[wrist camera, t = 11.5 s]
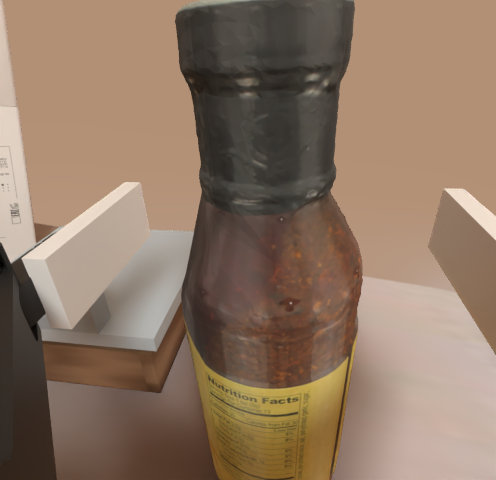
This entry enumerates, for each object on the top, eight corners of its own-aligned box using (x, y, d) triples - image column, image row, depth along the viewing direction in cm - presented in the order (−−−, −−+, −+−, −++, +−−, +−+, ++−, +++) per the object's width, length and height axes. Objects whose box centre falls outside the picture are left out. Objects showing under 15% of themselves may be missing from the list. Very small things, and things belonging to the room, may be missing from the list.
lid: (-61, 330, 22) (-96, 277, 20) (63, 235, 33) (49, 194, 31) (156, 351, 20) (143, 294, 18) (210, 241, 31) (206, 199, 29)
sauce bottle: (261, 388, 22) (254, 19, 12) (354, 450, 18) (452, -3, 8) (184, 476, 17) (74, 6, 7) (287, 581, 14) (328, -50, 4)
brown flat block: (-30, 371, 23) (-54, 334, 22) (78, 267, 35) (68, 238, 33) (160, 392, 21) (150, 354, 20) (209, 275, 33) (206, 244, 31)
